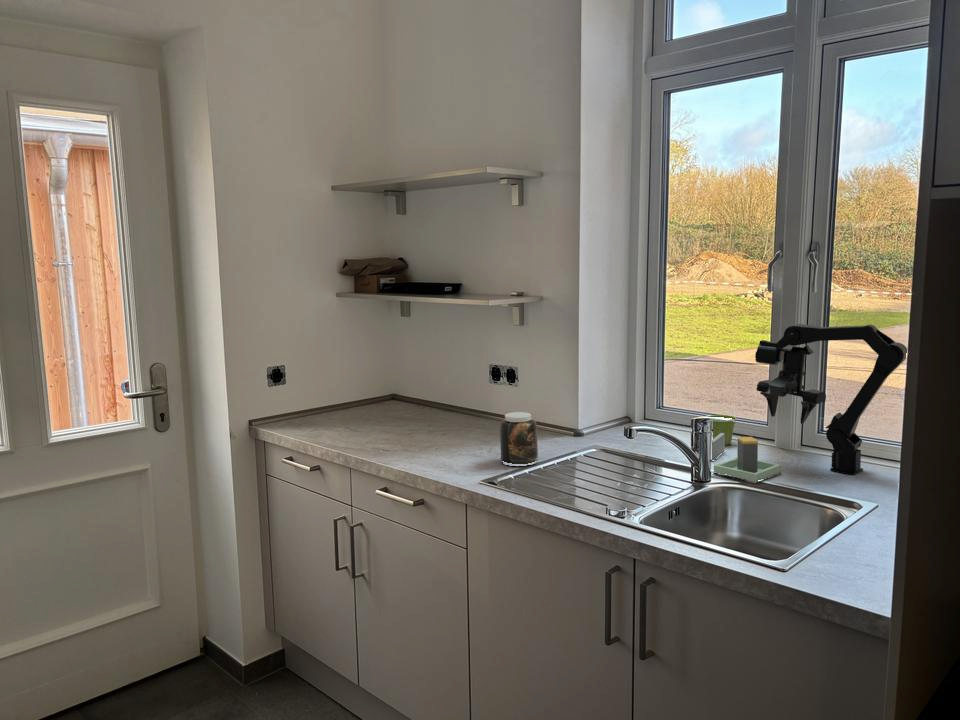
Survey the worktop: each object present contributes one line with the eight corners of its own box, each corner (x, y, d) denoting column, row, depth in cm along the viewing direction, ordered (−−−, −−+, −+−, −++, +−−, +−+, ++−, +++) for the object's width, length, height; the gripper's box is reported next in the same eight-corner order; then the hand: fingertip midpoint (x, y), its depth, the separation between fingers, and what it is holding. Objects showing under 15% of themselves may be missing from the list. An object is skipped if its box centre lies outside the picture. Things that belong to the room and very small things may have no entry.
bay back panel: (724, 451, 233) (724, 433, 233) (713, 461, 223) (713, 441, 223) (720, 451, 234) (720, 432, 233) (709, 460, 224) (709, 441, 223)
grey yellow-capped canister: (751, 469, 212) (751, 436, 211) (757, 474, 207) (757, 441, 206) (737, 469, 212) (737, 437, 211) (742, 474, 208) (743, 441, 206)
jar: (492, 463, 231) (491, 415, 229) (517, 455, 239) (515, 409, 237) (522, 469, 223) (520, 420, 221) (546, 460, 231) (544, 413, 229)
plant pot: (738, 447, 238) (738, 421, 237) (707, 447, 240) (707, 420, 239) (734, 440, 247) (734, 414, 246) (704, 440, 249) (705, 414, 248)
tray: (780, 473, 209) (781, 464, 209) (755, 483, 201) (755, 474, 201) (739, 464, 219) (739, 456, 219) (713, 473, 211) (713, 465, 211)
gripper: (748, 364, 217) (743, 416, 220) (808, 376, 203) (802, 431, 206) (769, 361, 224) (764, 411, 227) (829, 372, 209) (823, 426, 212)
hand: (787, 419), depth 218 cm, fingers open, 9 cm apart
